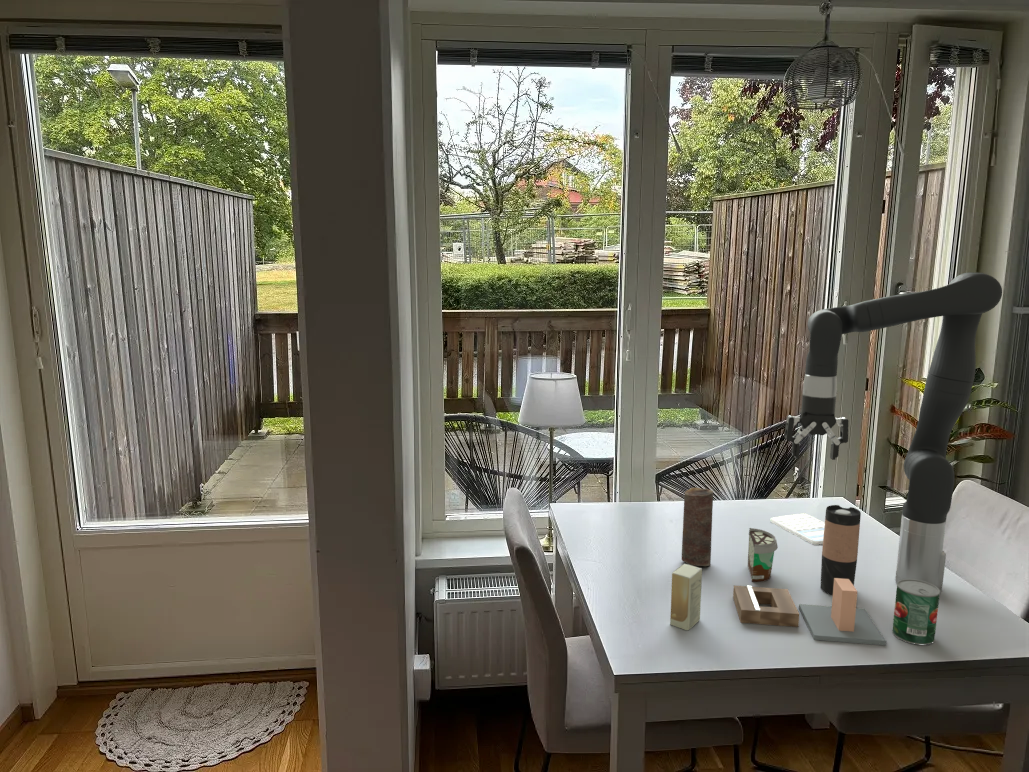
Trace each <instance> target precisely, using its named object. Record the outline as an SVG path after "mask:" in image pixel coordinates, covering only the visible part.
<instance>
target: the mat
mask: <svg viewBox="0 0 1029 772" xmlns="http://www.w3.org/2000/svg"><path fill="white" fill-rule="evenodd" d="M831 610H832V605H831V606H830V605H819V604H807V603H806V604H803V603H799V604H798V611H799V612H800V614H801V616H802V618H803V620H804V622H805V624H806V626H807V628H808V631H809V632H810V635H811V637H812V639H813V640H814V641H826V642H827V641H828V642H839V643H853V644H862V645H863V644H864V645H865V644H866V645H876V646H877V645H878V646H886V644H887V640H886V638H885V637H884V635H883V633H881V631H880V629H879V628H878V626H877V624H876V623H875V622H874V621H873V619H872V617H871V616H870V615H869V612H868V611H867V610H866V609H865V608H862V607H861V608H859V607H856V614H855V625H854V632H853V631H839V630H838V628H837V626H836V625H835V623H834V621H833V619H832V618H831Z"/></svg>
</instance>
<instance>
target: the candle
mask: <svg viewBox="0 0 1029 772" xmlns="http://www.w3.org/2000/svg"><path fill="white" fill-rule="evenodd" d="M713 504H714V491H713V490H712V489H709V488H700V487H691V488H689V489H686V491H685V492H684V497H683V516H682V517H683V518H682V519H683V520H682V536H681V539H682V541H681V561H682V562H684V563H685V564H688V565H691V566H695V567H708V566H711V563H712V562H711V560H712V536H713V535H712V532H713V530H712V528H713V506H714V505H713Z"/></svg>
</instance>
